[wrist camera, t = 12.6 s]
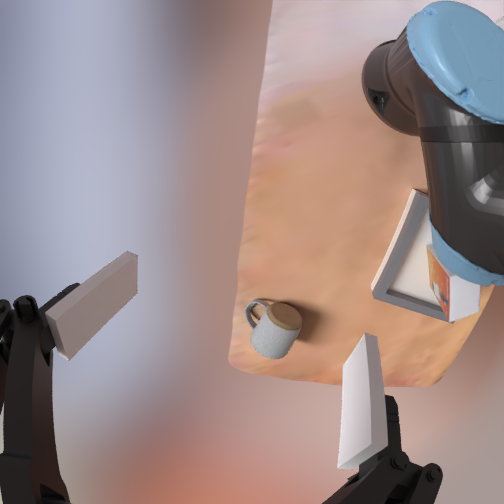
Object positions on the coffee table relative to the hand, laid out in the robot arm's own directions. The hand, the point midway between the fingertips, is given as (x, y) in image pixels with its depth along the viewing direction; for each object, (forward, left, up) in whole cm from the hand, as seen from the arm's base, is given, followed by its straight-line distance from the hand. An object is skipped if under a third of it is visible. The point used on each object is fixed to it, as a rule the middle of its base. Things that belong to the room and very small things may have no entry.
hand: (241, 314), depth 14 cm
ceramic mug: (+24, +3, -31) cm, 39 cm away
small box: (+2, +27, -29) cm, 39 cm away
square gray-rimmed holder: (+2, +26, -31) cm, 40 cm away
